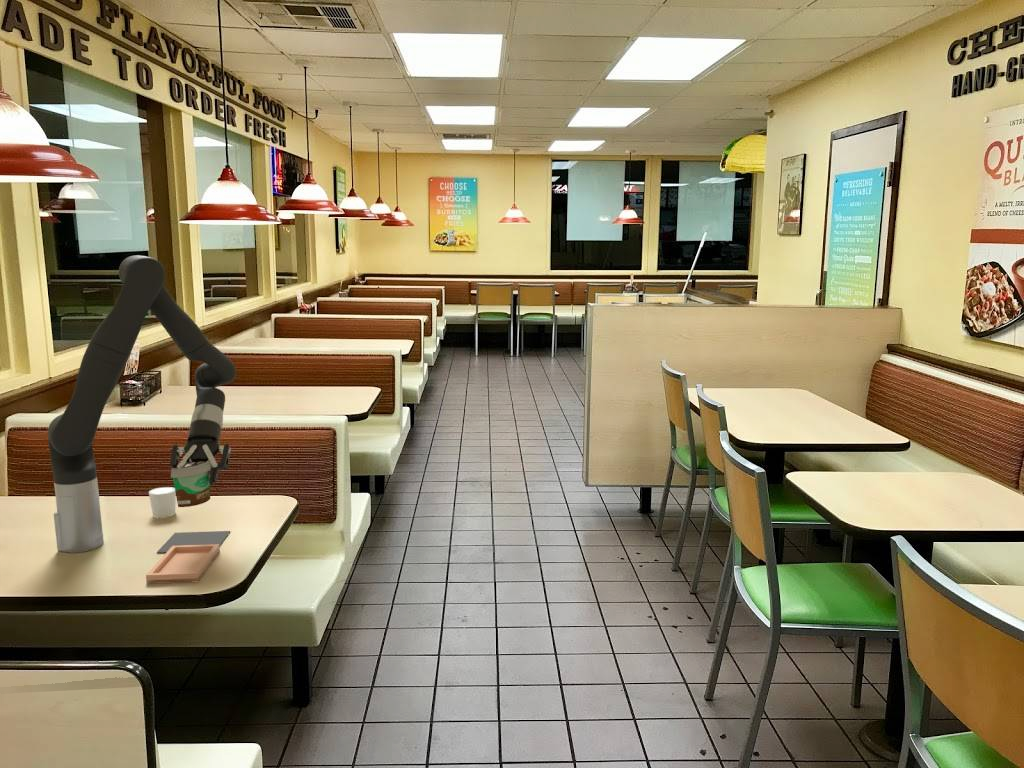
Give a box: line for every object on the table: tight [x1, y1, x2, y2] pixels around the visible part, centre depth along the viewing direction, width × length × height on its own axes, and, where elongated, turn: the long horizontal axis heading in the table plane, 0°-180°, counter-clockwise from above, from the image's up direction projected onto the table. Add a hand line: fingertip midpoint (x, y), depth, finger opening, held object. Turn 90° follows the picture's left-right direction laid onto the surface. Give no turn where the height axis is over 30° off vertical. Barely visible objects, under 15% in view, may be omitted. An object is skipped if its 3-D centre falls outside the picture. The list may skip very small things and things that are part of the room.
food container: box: [170, 459, 213, 508], centre depth 189 cm, size 12×6×10 cm, turn 171°
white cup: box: [148, 486, 177, 518], centre depth 213 cm, size 7×7×7 cm
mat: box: [156, 530, 231, 554], centre depth 193 cm, size 14×13×1 cm
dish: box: [145, 544, 221, 585], centre depth 178 cm, size 11×17×2 cm, turn 5°
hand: (195, 483), depth 187 cm, fingers closed on food container, 7 cm apart
